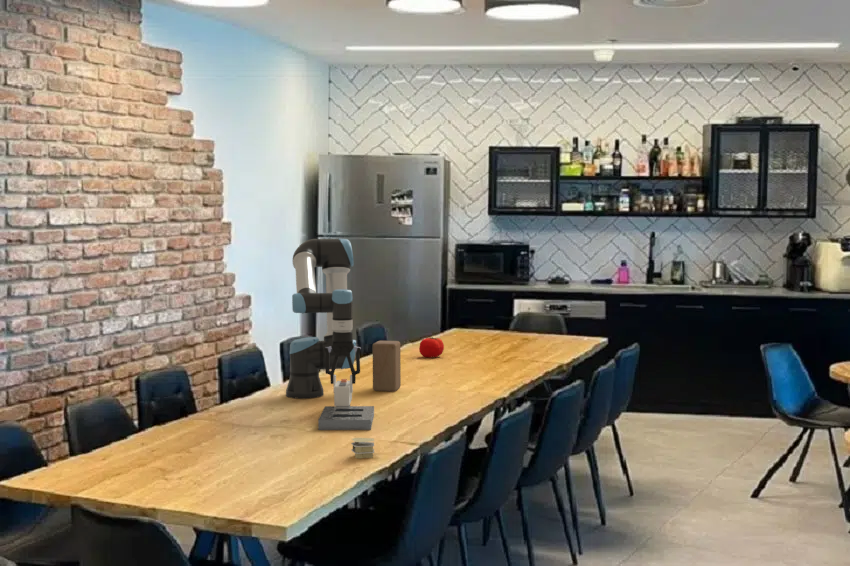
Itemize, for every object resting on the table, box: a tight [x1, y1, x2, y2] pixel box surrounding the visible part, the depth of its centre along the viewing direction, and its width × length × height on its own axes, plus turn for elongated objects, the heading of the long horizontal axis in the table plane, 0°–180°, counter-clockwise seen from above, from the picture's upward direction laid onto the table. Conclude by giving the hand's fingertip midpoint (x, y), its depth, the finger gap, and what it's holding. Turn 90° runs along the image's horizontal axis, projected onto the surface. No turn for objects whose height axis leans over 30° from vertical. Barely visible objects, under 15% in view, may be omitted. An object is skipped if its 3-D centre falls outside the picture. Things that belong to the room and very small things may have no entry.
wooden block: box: [372, 340, 402, 392], centre depth 435 cm, size 10×10×20 cm
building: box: [351, 437, 375, 459], centre depth 321 cm, size 10×9×6 cm
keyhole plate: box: [317, 405, 375, 431], centre depth 370 cm, size 18×24×4 cm
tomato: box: [418, 337, 445, 358], centre depth 525 cm, size 11×13×10 cm
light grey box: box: [333, 378, 353, 406], centre depth 391 cm, size 6×14×11 cm, turn 0°
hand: (343, 392), depth 391 cm, fingers closed on light grey box, 5 cm apart
